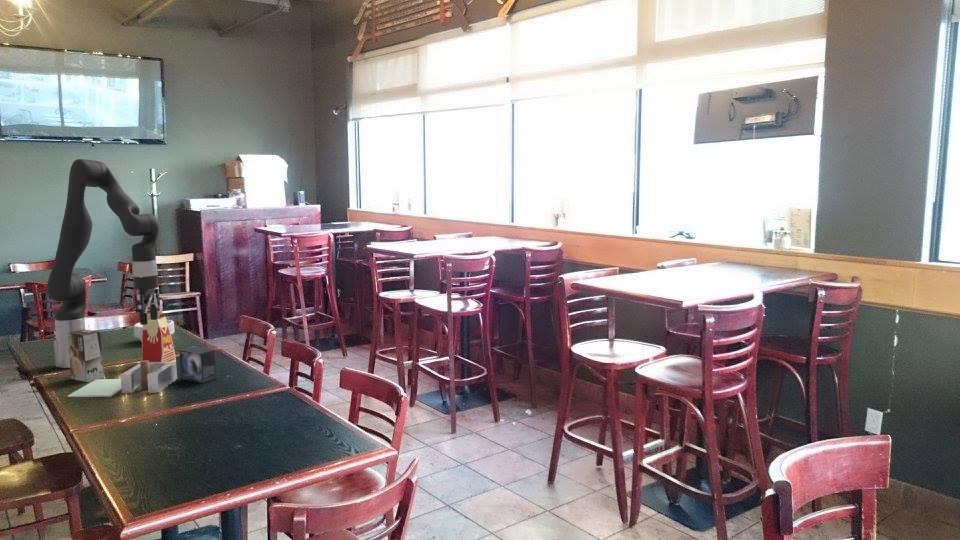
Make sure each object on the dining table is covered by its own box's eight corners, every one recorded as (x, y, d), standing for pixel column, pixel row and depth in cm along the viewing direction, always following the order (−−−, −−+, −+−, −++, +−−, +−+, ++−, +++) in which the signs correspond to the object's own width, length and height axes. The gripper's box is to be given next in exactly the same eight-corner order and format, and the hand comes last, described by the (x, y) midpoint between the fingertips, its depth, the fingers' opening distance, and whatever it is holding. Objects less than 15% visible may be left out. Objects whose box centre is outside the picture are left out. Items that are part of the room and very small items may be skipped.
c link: (142, 379, 235) (141, 362, 235) (177, 379, 236) (176, 361, 235) (121, 393, 221) (120, 374, 220) (158, 392, 221) (157, 374, 220)
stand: (140, 389, 224) (138, 362, 223) (144, 387, 226) (142, 360, 225) (148, 389, 224) (147, 362, 223) (152, 387, 227) (150, 360, 225)
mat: (67, 397, 216) (67, 395, 216) (96, 380, 234) (96, 379, 234) (110, 396, 217) (110, 395, 217) (136, 380, 235) (136, 378, 235)
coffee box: (105, 377, 238) (101, 331, 236) (86, 382, 232) (83, 335, 230) (88, 374, 242) (84, 328, 240) (69, 379, 236) (66, 332, 234)
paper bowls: (126, 344, 287) (124, 325, 286) (153, 336, 301) (152, 318, 300) (156, 346, 282) (155, 327, 281) (183, 338, 297) (182, 320, 296)
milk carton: (176, 361, 260) (173, 307, 257) (162, 367, 251) (159, 312, 248) (152, 360, 261) (149, 307, 258) (138, 367, 251) (134, 312, 249)
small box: (179, 380, 235) (177, 349, 234) (195, 375, 241) (193, 345, 240) (201, 384, 230) (200, 352, 229) (217, 379, 236) (216, 348, 235)
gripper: (142, 272, 241) (146, 318, 243) (124, 277, 227) (128, 326, 229) (165, 271, 241) (168, 317, 243) (148, 276, 227) (152, 325, 229)
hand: (149, 322), depth 236 cm, fingers open, 8 cm apart
